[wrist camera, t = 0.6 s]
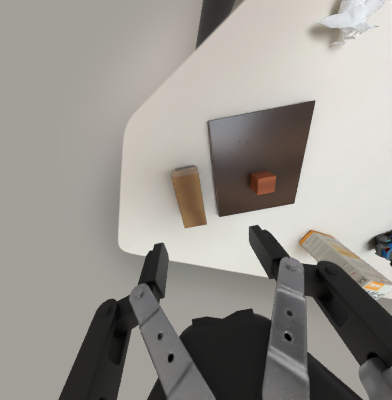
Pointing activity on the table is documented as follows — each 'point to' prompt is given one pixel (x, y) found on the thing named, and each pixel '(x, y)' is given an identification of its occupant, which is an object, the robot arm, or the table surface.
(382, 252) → the toy car
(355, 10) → the white bird figurine
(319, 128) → the table surface
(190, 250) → the table surface
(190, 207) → the brush
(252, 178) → the reddish brown block
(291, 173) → the tray
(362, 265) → the supplement box
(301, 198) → the table surface
